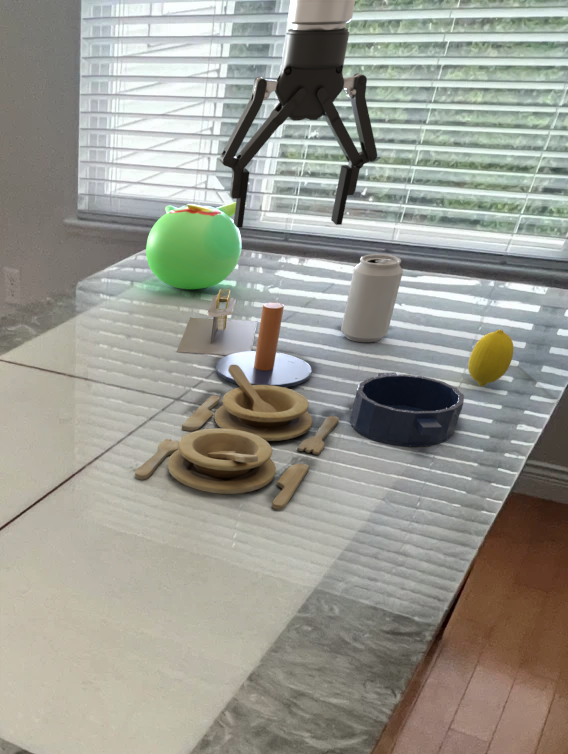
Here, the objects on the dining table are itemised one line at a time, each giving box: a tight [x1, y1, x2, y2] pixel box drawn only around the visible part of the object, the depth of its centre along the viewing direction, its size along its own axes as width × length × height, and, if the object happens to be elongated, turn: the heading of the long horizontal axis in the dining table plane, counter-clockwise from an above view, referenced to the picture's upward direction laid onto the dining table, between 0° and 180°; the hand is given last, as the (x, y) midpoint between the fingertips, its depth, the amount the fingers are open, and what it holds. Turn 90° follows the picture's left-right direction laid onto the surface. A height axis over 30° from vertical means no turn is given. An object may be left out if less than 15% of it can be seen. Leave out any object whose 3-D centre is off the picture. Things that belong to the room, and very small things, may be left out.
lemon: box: [467, 329, 514, 387], centre depth 122 cm, size 6×6×8 cm
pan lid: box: [215, 301, 313, 388], centre depth 127 cm, size 14×14×10 cm
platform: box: [176, 288, 258, 356], centre depth 142 cm, size 12×18×7 cm, turn 165°
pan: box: [349, 371, 465, 448], centre depth 114 cm, size 13×19×4 cm
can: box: [340, 253, 404, 343], centre depth 138 cm, size 8×8×12 cm
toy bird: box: [145, 201, 243, 290], centre depth 161 cm, size 18×17×15 cm
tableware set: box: [134, 364, 340, 511], centre depth 110 cm, size 30×20×6 cm, turn 151°
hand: (287, 224), depth 117 cm, fingers open, 13 cm apart
